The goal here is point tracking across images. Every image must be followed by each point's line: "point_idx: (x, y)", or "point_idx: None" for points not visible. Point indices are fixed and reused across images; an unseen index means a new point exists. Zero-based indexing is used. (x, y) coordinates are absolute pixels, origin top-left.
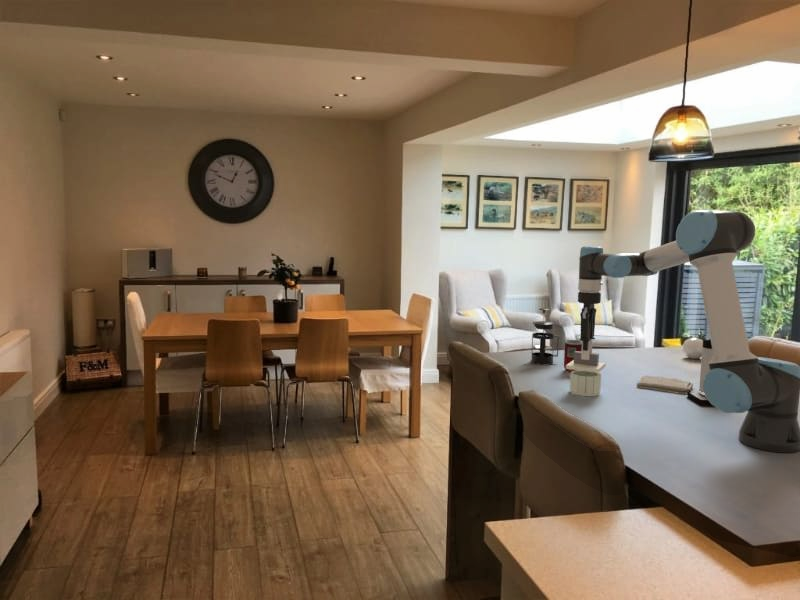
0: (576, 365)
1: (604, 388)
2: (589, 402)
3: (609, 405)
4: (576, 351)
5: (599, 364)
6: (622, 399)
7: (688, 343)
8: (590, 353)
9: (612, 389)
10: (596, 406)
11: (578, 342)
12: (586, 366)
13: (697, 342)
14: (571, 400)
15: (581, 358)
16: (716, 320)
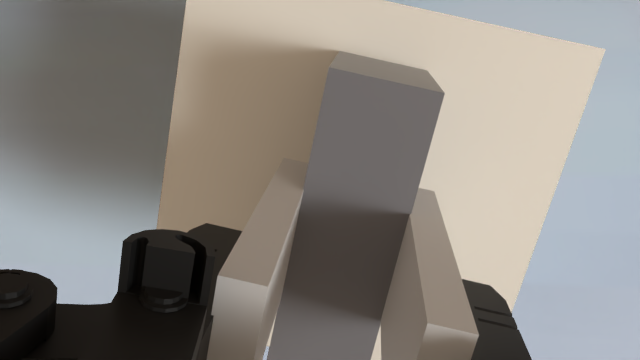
0: (231, 90)
1: (531, 262)
2: (107, 159)
3: (94, 275)
4: (398, 104)
5: (378, 334)
6: (267, 354)
7: None
8: (309, 307)
9: (515, 312)
10: (34, 201)
11: None
12: (222, 202)
13: None
14: (103, 36)
15: (282, 165)
16: None
